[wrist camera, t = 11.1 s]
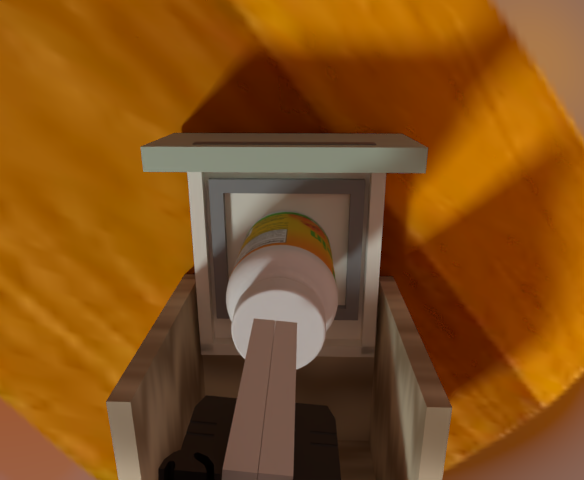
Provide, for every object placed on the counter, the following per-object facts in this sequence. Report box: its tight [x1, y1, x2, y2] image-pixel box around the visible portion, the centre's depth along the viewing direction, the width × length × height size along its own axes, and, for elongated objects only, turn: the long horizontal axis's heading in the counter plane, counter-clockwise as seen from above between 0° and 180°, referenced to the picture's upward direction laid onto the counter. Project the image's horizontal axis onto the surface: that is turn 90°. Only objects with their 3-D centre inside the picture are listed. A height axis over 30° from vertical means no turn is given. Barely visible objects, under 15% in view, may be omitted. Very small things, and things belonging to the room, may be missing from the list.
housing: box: [106, 274, 452, 480], centre depth 27 cm, size 14×14×14 cm
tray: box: [141, 133, 428, 357], centre depth 27 cm, size 14×14×6 cm
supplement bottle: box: [226, 211, 338, 369], centre depth 24 cm, size 5×5×10 cm
